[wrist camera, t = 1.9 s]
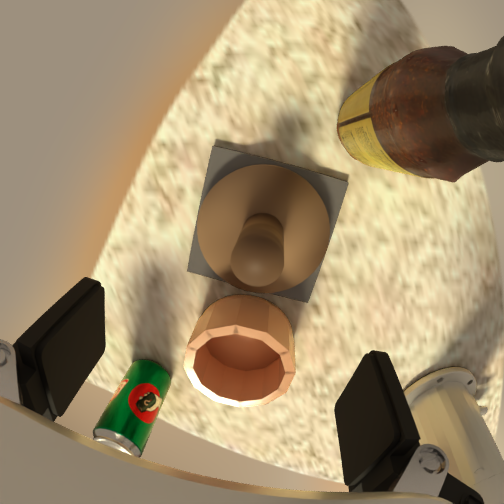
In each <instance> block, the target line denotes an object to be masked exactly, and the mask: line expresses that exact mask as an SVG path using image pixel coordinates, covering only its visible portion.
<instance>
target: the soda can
mask: <svg viewBox="0 0 504 504" xmlns="http://www.w3.org/2000/svg"><path fill="white" fill-rule="evenodd" d="M170 385H171V380H170V377H169V375H168V373H167V371H166V370H165V369H164V368H163V367H162V366H161V365H160V364H158V363H156V362H154V361H151V360H137V361H135V362H133V363H132V364H131V366H130V368H129V369H128V371H127V373H126V374H125V376H124V378H123V379H122V381H121V383H120V384H119V386H118V388H117V390H116V391H115V393H114V395H113V397H112V398H111V400H110V402H109V403H108V405H107V407H106V409H105V411H104V412H103V414H102V416H101V417H100V419H99V421H98V423H97V424H96V426H95V428H94V430H93V436H94V438H93V440H95V441H97V442H99V443H102V444H104V445H107V446H109V447H112V448H114V449H117V450H119V451H122V452H125V453H128V454H130V455H133V456H136V457H139V458H140V457H141V455H142V453H143V451H144V448H145V446H146V443H147V441H148V438H149V436H150V433H151V431H152V428H153V426H154V423H155V421H156V419H157V416H158V414H159V411H160V409H161V407H162V404H163V402H164V399H165V397H166V395H167V392H168V390H169V387H170Z"/></svg>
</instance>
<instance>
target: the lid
mask: <svg viewBox="0 0 504 504" xmlns="http://www.w3.org/2000/svg"><path fill="white" fill-rule="evenodd" d="M197 235H198V242H199V245H200V249H201V251H202V254H203V256H204V258H205V259H206V261H207V263H208V264H209V266H210V267H211V268H212V270H213V271H214V272H215V273H216V274H217V275H218V276H220V277H221V278H222V279H223V280H225V281H226V282H228V283H229V284H231V285H233V286H235V287H237V288H239V289H243V290H246V291H250V292H255V293H274V292H280V291H283V290H287V289H289V288H292V287H294V286H296V285H298V284H299V283H301V282H303V281H304V280H305V279H307V278H308V277H309V276H310V275H311V274H312V273H313V272H314V271H315V270H316V269H317V267H318V266H319V265H320V263H321V261H322V260H323V258H324V255H325V253H326V251H327V247H328V243H329V237H330V224H329V217H328V214H327V210H326V207H325V205H324V203H323V201H322V199H321V198H320V196H319V194H318V193H317V191H316V190H315V189H314V188H313V187H312V185H311V184H310V183H309V182H308V181H306V180H305V179H304V178H303V177H301V176H300V175H298V174H297V173H295V172H293V171H291V170H289V169H286V168H283V167H280V166H275V165H268V164H259V165H251V166H246V167H243V168H240V169H237V170H235V171H234V172H232V173H230V174H228V175H227V176H225V177H224V178H222V179H221V180H220V181H219V182H218V183H217V184H215V185H214V186H213V188H212V189H211V190H210V191H209V193H208V194H207V196H206V197H205V199H204V201H203V203H202V205H201V208H200V211H199V215H198V221H197Z"/></svg>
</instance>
